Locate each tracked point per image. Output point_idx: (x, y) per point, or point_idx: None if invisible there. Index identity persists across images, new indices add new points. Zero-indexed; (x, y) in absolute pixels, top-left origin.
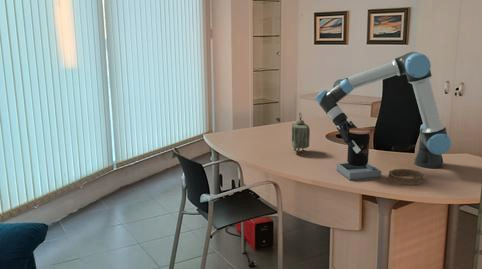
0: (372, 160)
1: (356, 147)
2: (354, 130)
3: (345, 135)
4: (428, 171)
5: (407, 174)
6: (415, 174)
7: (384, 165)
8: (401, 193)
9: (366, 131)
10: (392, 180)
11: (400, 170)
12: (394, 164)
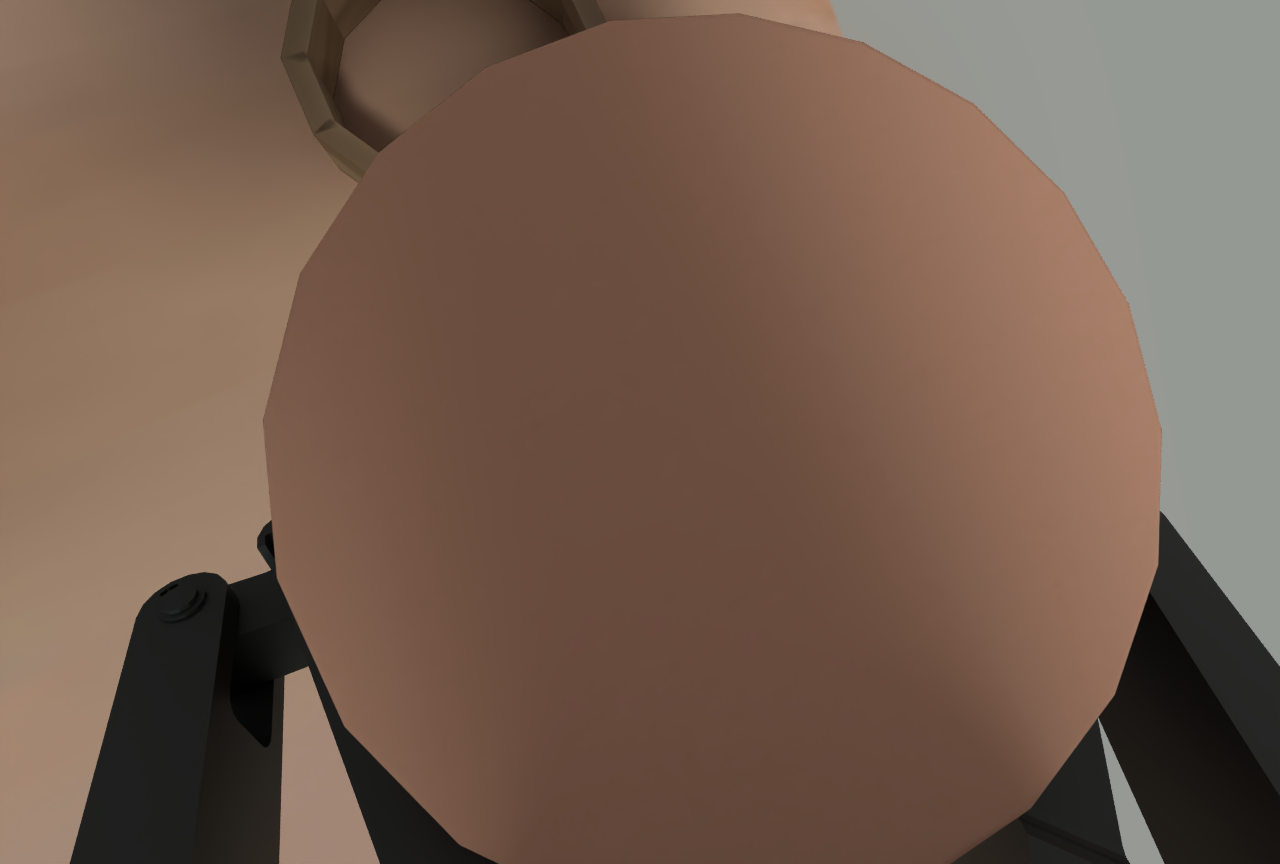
0: (23, 616)
1: None
2: (963, 546)
3: (1243, 635)
4: (78, 7)
5: (336, 108)
6: (332, 26)
7: (145, 416)
8: (803, 5)
9: (774, 85)
10: None
11: (355, 139)
12: (34, 351)
